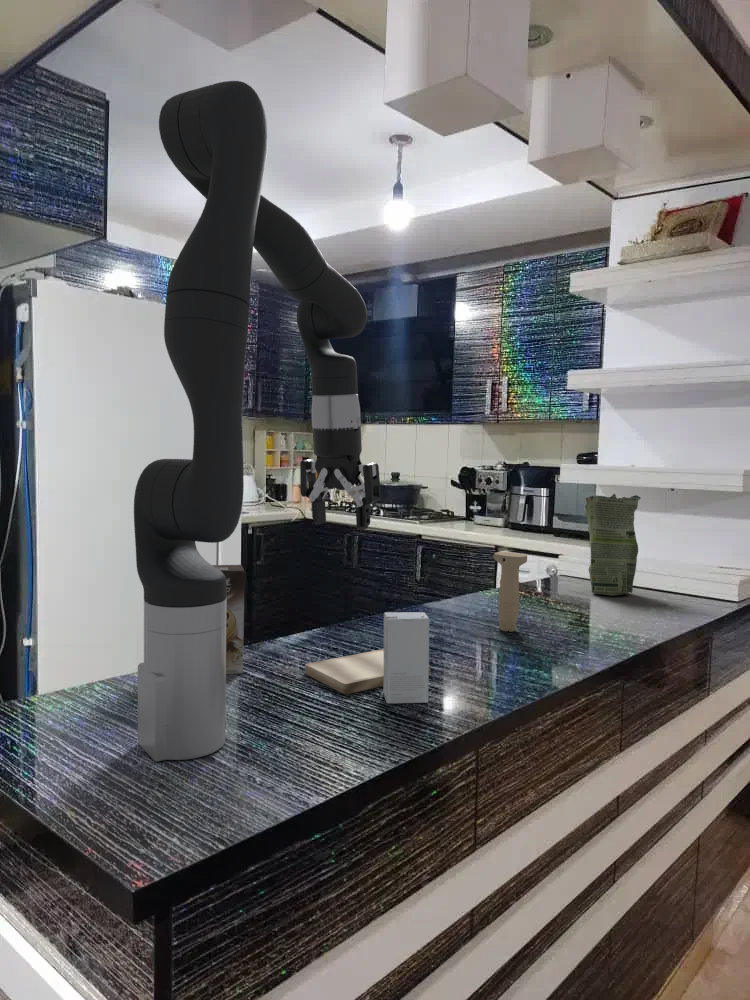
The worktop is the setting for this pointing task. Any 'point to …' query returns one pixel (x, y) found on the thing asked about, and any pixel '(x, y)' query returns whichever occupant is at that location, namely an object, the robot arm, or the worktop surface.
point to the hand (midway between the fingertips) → (341, 526)
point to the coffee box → (234, 617)
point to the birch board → (350, 671)
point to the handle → (509, 588)
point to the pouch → (612, 543)
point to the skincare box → (406, 657)
